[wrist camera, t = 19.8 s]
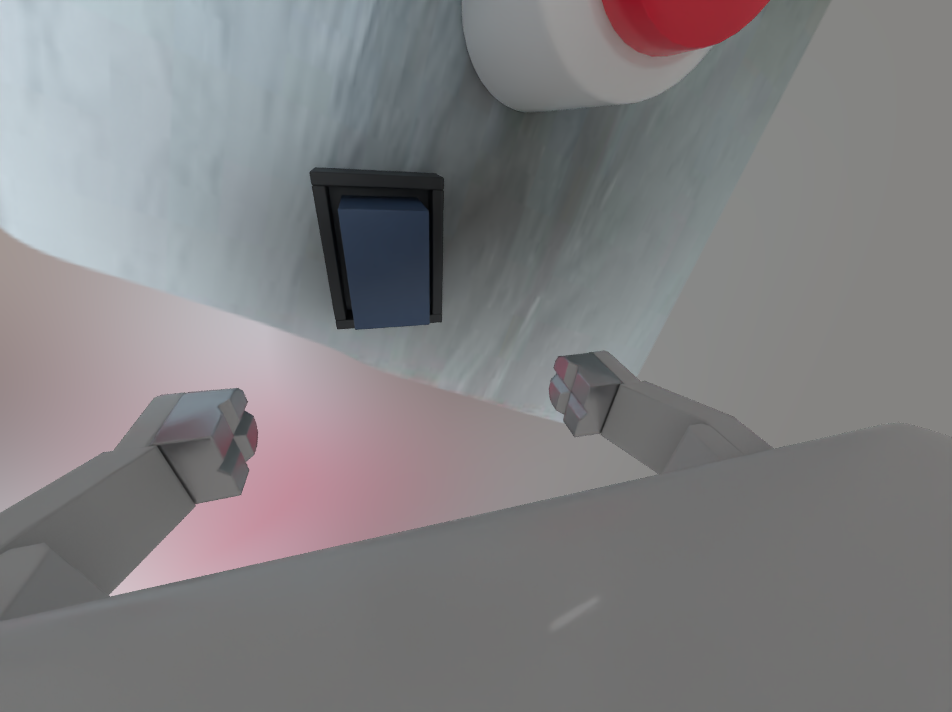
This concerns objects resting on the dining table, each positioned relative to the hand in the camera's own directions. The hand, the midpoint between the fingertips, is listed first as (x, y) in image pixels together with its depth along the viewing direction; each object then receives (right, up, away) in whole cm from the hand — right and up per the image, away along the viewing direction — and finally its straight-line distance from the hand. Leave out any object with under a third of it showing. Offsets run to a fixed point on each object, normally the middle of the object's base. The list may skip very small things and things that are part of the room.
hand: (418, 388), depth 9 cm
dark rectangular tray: (-4, +7, +11) cm, 14 cm away
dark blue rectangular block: (-4, +7, +11) cm, 14 cm away
